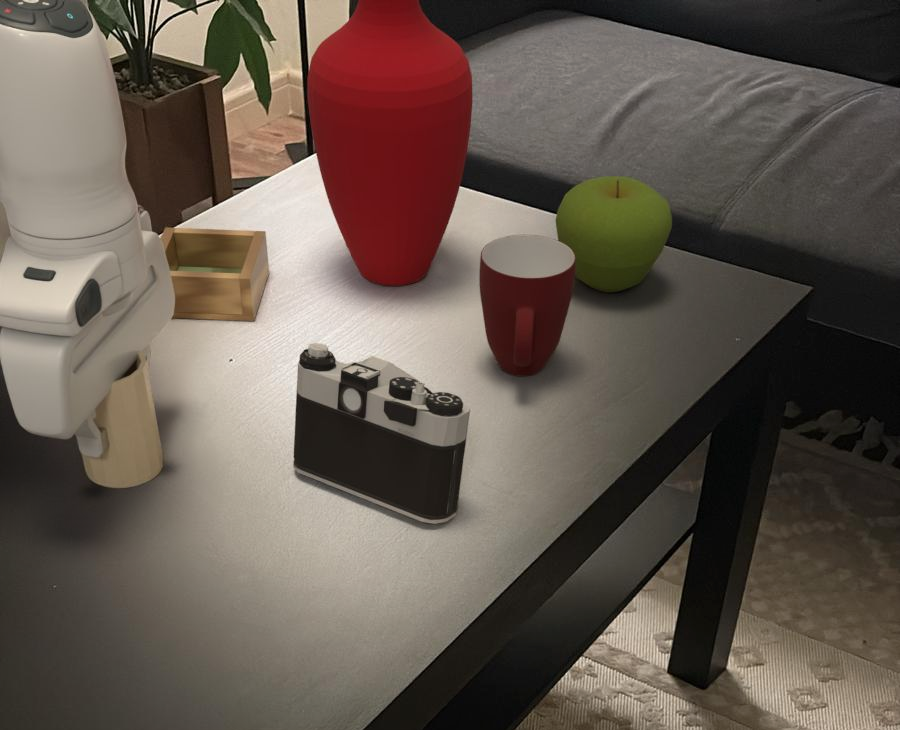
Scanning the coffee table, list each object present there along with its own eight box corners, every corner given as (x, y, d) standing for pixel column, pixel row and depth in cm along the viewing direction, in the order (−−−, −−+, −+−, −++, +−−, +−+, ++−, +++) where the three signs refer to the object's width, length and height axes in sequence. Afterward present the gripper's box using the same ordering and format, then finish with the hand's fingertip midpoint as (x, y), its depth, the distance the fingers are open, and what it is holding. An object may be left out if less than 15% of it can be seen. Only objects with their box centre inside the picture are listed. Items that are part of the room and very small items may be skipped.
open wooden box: (151, 317, 120) (143, 274, 117) (171, 268, 126) (165, 227, 123) (254, 321, 119) (249, 278, 116) (269, 272, 126) (265, 231, 123)
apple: (533, 293, 124) (540, 188, 116) (580, 250, 130) (589, 148, 123) (635, 322, 120) (649, 215, 113) (679, 277, 127) (695, 173, 119)
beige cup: (77, 486, 101) (52, 383, 95) (95, 442, 106) (73, 341, 99) (154, 490, 101) (135, 386, 95) (170, 446, 105) (153, 344, 99)
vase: (350, 228, 132) (335, -120, 110) (487, 251, 130) (500, -102, 107) (295, 293, 123) (266, -74, 101) (441, 319, 120) (444, -53, 98)
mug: (575, 403, 111) (586, 292, 103) (483, 405, 110) (487, 294, 103) (560, 341, 118) (569, 233, 110) (472, 343, 117) (476, 234, 110)
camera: (500, 487, 104) (518, 366, 98) (430, 532, 97) (445, 405, 91) (353, 432, 109) (361, 314, 103) (275, 471, 102) (279, 346, 96)
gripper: (103, 187, 98) (134, 354, 108) (-31, 313, 84) (18, 491, 95) (180, 197, 97) (204, 365, 107) (57, 327, 83) (97, 505, 94)
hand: (116, 425), depth 101 cm, fingers closed on beige cup, 6 cm apart
